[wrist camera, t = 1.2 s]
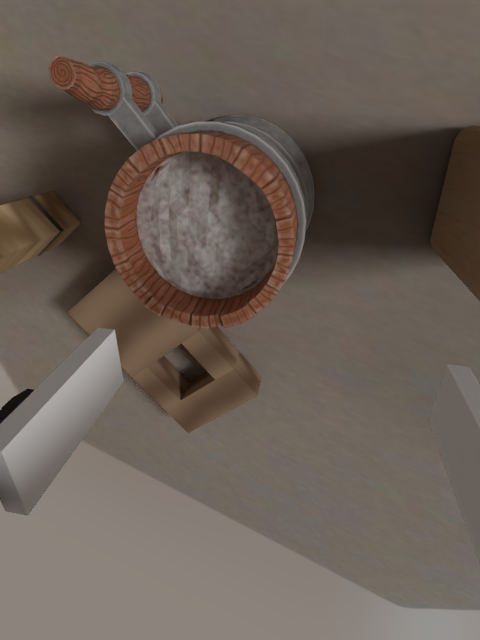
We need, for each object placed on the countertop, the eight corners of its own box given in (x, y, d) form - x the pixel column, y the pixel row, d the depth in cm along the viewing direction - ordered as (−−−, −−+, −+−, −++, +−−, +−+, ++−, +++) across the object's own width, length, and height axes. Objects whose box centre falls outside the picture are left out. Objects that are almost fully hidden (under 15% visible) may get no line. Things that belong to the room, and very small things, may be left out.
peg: (31, 215, 41) (-91, 255, 29) (52, 190, 39) (-69, 222, 27) (60, 245, 42) (-47, 296, 30) (82, 222, 40) (-22, 266, 28)
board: (84, 299, 44) (66, 312, 41) (145, 244, 40) (130, 255, 37) (196, 413, 50) (187, 432, 47) (261, 377, 45) (257, 395, 42)
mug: (230, 293, 41) (189, 374, 28) (102, 139, 36) (-22, 149, 23) (344, 213, 35) (360, 268, 22) (210, 15, 30) (126, -67, 17)
